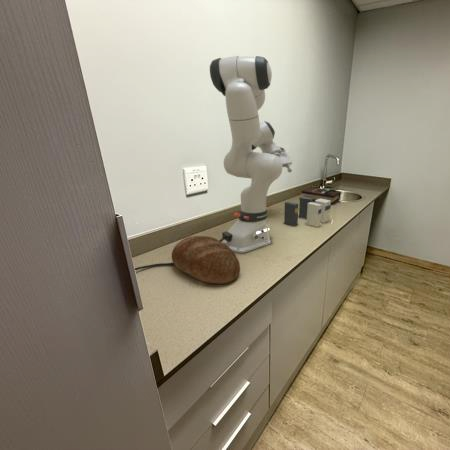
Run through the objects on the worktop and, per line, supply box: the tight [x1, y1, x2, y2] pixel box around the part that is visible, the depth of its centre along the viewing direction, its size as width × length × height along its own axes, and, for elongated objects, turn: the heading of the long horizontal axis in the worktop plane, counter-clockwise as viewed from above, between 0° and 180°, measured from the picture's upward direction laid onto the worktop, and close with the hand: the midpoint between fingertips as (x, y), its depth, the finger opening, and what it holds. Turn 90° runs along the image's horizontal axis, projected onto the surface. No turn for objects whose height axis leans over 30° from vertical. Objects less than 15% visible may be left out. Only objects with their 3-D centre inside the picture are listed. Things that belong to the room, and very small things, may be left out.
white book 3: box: [318, 199, 332, 222], centre depth 140 cm, size 3×7×12 cm, turn 56°
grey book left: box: [283, 201, 299, 227], centre depth 131 cm, size 3×7×12 cm, turn 56°
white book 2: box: [314, 200, 328, 224], centre depth 138 cm, size 3×7×12 cm, turn 56°
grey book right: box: [298, 196, 314, 220], centre depth 143 cm, size 3×7×12 cm, turn 63°
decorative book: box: [301, 186, 342, 206], centre depth 185 cm, size 19×8×30 cm
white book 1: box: [305, 201, 322, 228], centre depth 132 cm, size 3×7×12 cm, turn 56°
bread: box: [171, 235, 241, 284], centre depth 85 cm, size 16×29×11 cm, turn 57°
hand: (285, 172), depth 133 cm, fingers open, 8 cm apart
